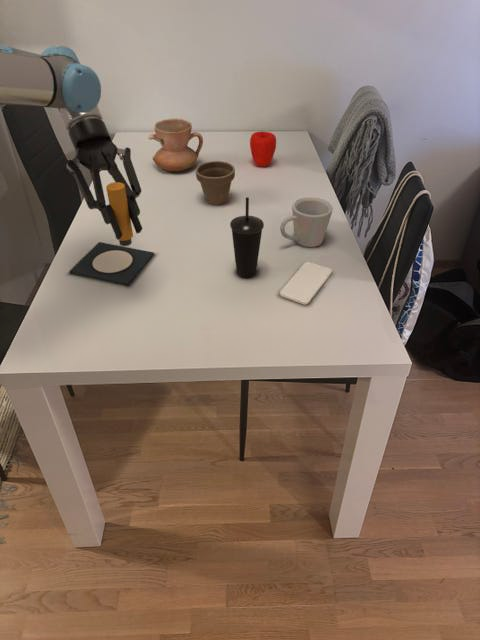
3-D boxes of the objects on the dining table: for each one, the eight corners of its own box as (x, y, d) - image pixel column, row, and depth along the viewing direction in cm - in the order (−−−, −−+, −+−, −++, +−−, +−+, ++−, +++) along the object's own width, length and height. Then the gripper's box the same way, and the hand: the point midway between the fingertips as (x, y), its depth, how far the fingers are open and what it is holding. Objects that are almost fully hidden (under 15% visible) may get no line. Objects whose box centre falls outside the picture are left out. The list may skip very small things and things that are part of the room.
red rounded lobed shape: (272, 158, 169) (274, 127, 162) (277, 168, 163) (279, 137, 155) (247, 159, 168) (248, 128, 161) (251, 170, 162) (252, 138, 154)
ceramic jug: (151, 177, 157) (146, 133, 148) (151, 159, 168) (146, 118, 159) (206, 174, 159) (204, 131, 150) (202, 156, 170) (200, 115, 161)
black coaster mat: (69, 273, 117) (69, 270, 116) (99, 244, 127) (98, 241, 126) (128, 286, 113) (127, 283, 112) (154, 254, 123) (153, 251, 122)
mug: (336, 243, 127) (341, 209, 121) (290, 259, 122) (293, 225, 115) (312, 226, 134) (316, 193, 127) (268, 240, 128) (269, 207, 122)
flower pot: (209, 213, 139) (207, 180, 133) (190, 197, 147) (188, 166, 140) (242, 203, 144) (242, 171, 137) (222, 188, 151) (222, 157, 145)
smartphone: (278, 293, 110) (306, 261, 119) (278, 295, 110) (305, 263, 120) (307, 303, 107) (333, 269, 117) (306, 306, 107) (332, 272, 117)
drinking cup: (238, 285, 113) (238, 209, 100) (226, 268, 119) (224, 193, 105) (267, 277, 116) (270, 202, 102) (253, 260, 121) (255, 187, 108)
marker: (114, 245, 101) (102, 188, 92) (122, 237, 104) (111, 180, 95) (129, 248, 100) (119, 191, 92) (137, 240, 103) (128, 183, 94)
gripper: (121, 128, 103) (162, 228, 104) (44, 143, 96) (88, 251, 97) (127, 109, 96) (171, 217, 97) (44, 124, 89) (91, 240, 90)
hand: (129, 233), depth 97 cm, fingers closed on marker, 4 cm apart
